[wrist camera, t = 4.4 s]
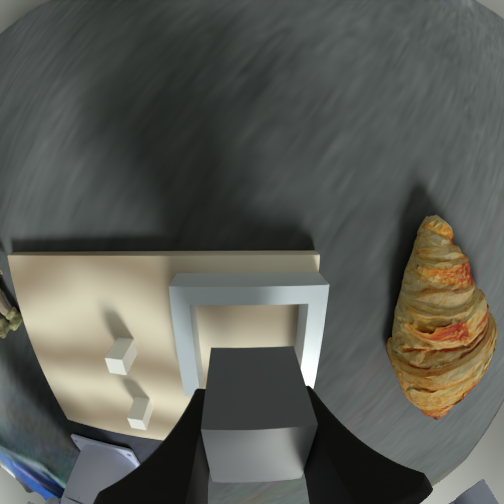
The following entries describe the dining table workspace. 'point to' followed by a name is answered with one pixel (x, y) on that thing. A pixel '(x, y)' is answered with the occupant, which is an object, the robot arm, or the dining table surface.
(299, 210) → the dining table surface
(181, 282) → the end holder
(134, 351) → the twin white cubes
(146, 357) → the board
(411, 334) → the croissant
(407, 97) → the dining table surface
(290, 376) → the block
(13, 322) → the figurine
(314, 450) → the robot arm
